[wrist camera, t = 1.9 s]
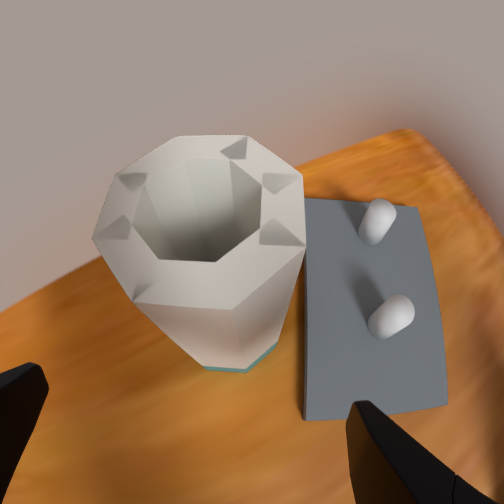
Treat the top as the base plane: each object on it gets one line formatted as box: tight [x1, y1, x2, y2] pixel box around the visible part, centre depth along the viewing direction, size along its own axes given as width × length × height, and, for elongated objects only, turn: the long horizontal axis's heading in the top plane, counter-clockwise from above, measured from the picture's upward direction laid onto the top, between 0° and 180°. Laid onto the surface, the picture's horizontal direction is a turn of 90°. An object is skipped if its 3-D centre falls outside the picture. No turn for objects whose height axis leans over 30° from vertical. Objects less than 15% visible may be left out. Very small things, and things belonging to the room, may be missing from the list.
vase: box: [92, 135, 307, 373], centre depth 14 cm, size 6×6×13 cm
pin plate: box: [303, 198, 448, 421], centre depth 19 cm, size 16×10×4 cm, turn 177°
